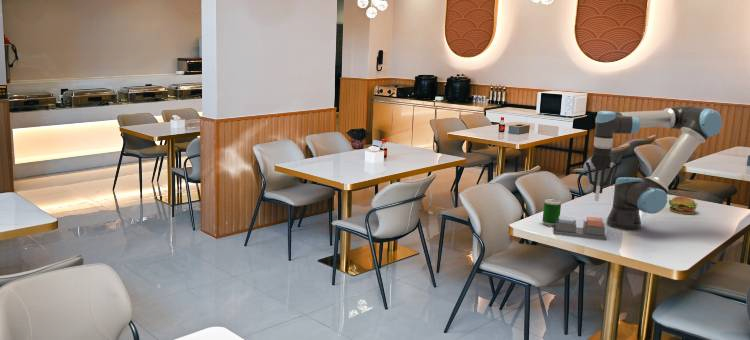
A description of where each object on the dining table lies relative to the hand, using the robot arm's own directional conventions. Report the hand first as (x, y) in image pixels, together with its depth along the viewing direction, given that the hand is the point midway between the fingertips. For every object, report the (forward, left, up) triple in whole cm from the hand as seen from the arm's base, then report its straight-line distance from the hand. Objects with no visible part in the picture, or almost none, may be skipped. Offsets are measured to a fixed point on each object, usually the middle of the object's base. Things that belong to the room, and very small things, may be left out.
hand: (596, 200), depth 291 cm
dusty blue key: (+12, 0, -13) cm, 17 cm away
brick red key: (0, 0, -11) cm, 11 cm away
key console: (+6, 0, -16) cm, 17 cm away
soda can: (+18, -11, -16) cm, 26 cm away
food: (-48, -68, -16) cm, 85 cm away
